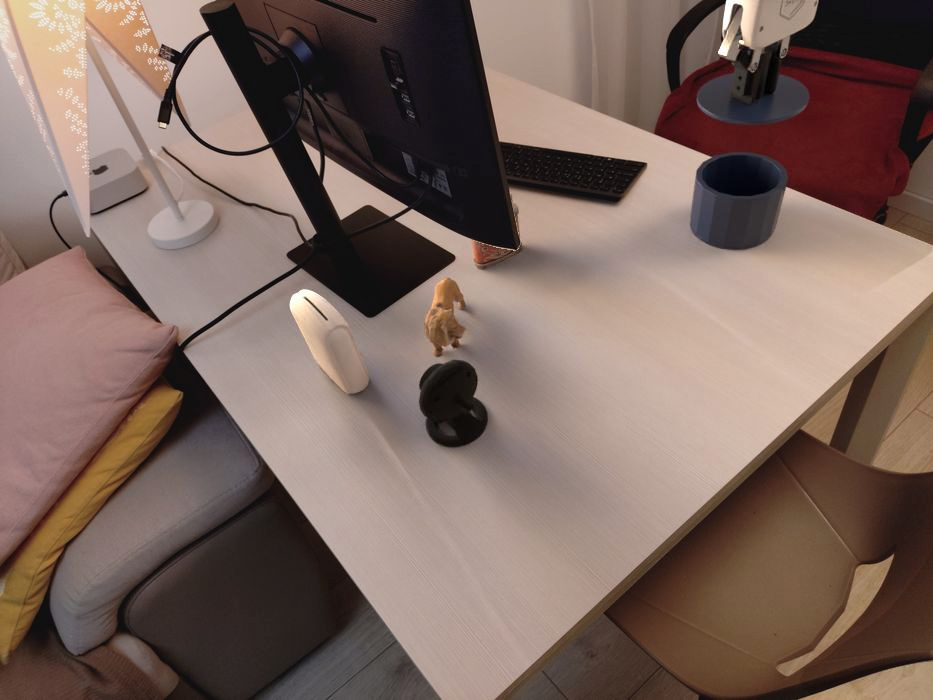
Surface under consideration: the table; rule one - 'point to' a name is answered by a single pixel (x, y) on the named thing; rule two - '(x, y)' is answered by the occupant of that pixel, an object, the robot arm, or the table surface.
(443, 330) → the lion figurine
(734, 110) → the lid
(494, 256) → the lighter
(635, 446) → the table surface
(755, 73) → the robot arm
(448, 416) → the webcam
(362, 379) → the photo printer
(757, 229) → the tin
